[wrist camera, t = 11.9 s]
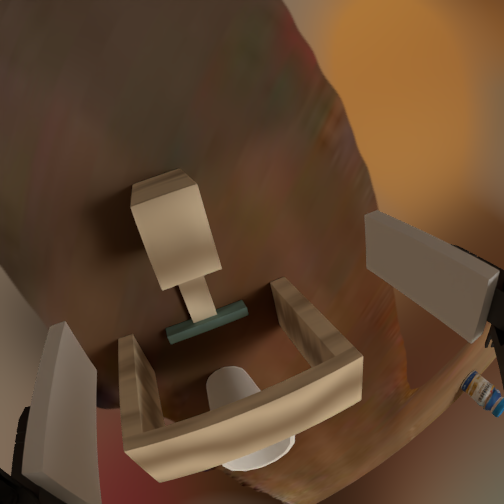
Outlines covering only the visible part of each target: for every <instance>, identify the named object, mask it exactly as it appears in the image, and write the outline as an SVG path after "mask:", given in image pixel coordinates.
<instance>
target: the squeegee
mask: <svg viewBox="0 0 504 504" xmlns="http://www.w3.org/2000/svg"><path fill="white" fill-rule="evenodd" d="M130 208H131V211H132V213H133V216H134V219H135V222H136V225H137V227H138V230H139V233H140V236H141V238H142V241H143V243H144V246H145V249H146V251H147V254H148V256H149V259H150V262H151V264H152V267H153V269H154V272H155V274H156V276H157V279H158V281H159V284H160V286H161V289H162V291H163V290H165V289H168V288H171V287H174V286H176V285H178V286H179V288H180V291H181V293H182V296H183V298H184V301H185V303H186V306H187V308H188V311H189V313H190V316H191V318H192V319H190V320H187V321H185V322H182V323H179V324H176V325H174V326H171V327H168V328H165V329H166V333H167V338H168V340H169V342H170V344H174V343H176V342H179V341H182V340H185V339H187V338H190V337H193V336H196V335H198V334H201V333H204V332H206V331H209V330H211V329H214V328H217V327H219V326H222V325H224V324H227V323H230V322H232V321H235V320H237V319H240V318H242V317H245V316H247V315H249V314H248V310H247V307H246V306H245V304H244V302H243V301H242V300H240V301H237V302H235V303H232V304H230V305H227V306H224V307H222V308H219V309H217V310H215V307H214V304H213V301H212V298H211V295H210V293H209V290H208V287H207V284H206V281H205V278H204V275H206V274H209V273H212V272H214V271H217V270H220V269H222V267H221V264H220V261H219V257H218V254H217V251H216V247H215V244H214V240H213V237H212V234H211V230H210V227H209V223H208V220H207V217H206V213H205V210H204V206H203V203H202V199H201V196H200V192H199V188H198V185H197V183H196V182H194V181H193V180H192V179H191V178H190V177H189V176H188V175H187V174H185V173H184V172H183V171H182V170H181V169H180V168H179V169H176V170H173V171H170V172H167V173H164V174H161V175H158V176H155V177H152V178H149V179H146V180H144V181H141V182H138V183H135V184H133V186H132V195H131V205H130Z"/></svg>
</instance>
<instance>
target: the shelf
mask: <svg viewBox="0 0 504 504" xmlns="http://www.w3.org/2000/svg"><path fill="white" fill-rule="evenodd" d="M270 285H271V289H272V294H273V298H274V303H275V307H276V312H277V316H278V321H279V325H280V326H281V328H282V329H283V330H284V332H285V333H286V334H287V335H288V337H289V338H290V339H291V341H292V342H293V343H294V345H295V346H296V347H297V349H298V350H299V351H300V352H301V354H302V355H303V356H304V358H305V359H306V360H307V362H308V363H309V364H310V365H311V367H312V368H311V369H309V370H307V371H304V372H302V373H300V374H298V375H296V376H294V377H292V378H289V379H287V380H285V381H283V382H281V383H278V384H276V385H274V386H272V387H269V388H267V389H265V390H262V391H260V392H257V393H255V394H253V395H250V396H248V397H245V398H243V399H240V400H238V401H235V402H233V403H230V404H228V405H225V406H222V407H220V408H217V409H214V410H211V411H209V412H206V413H203V414H200V415H197V416H195V417H192V418H189V419H186V420H183V421H180V422H177V423H173V424H170V425H167V426H165V423H164V418H163V413H162V408H161V403H160V398H159V392H158V387H157V381H156V375H155V371H154V370H153V368H152V367H151V365H150V363H149V361H148V360H147V358H146V356H145V355H144V353H143V351H142V349H141V348H140V346H139V344H138V342H137V341H136V339H135V337H134V335H133V334H131V335H128V336H125V337H122V338H119V339H118V364H119V394H120V410H121V424H122V436H123V446H124V452H125V453H126V454H127V455H128V456H129V457H130V458H132V459H133V460H134V461H135V462H136V463H137V464H138V465H139V466H140V467H142V468H143V469H144V470H145V471H146V472H147V473H149V474H150V475H151V476H152V477H153V478H155V479H156V480H157V481H158V482H159V483H160V482H164V481H168V480H172V479H176V478H179V477H183V476H186V475H190V474H193V473H197V472H200V471H203V470H206V469H209V468H212V467H215V466H218V465H221V464H224V463H227V462H230V461H233V460H235V459H238V458H241V457H243V456H246V455H249V454H251V453H254V452H256V451H259V450H261V449H264V448H266V447H268V446H271V445H273V444H275V443H278V442H280V441H282V440H285V439H287V438H289V437H291V436H293V435H296V434H298V433H300V432H302V431H304V430H306V429H308V428H310V427H312V426H314V425H316V424H318V423H320V422H322V421H324V420H326V419H328V418H330V417H332V416H334V415H335V414H337V413H339V412H341V411H343V410H345V409H346V408H348V407H350V406H352V405H353V404H355V403H357V402H359V401H360V400H361V394H362V375H363V355H362V354H361V353H360V352H359V351H358V350H357V349H356V348H355V347H354V346H353V345H352V344H351V343H350V342H349V341H348V340H347V339H346V338H345V337H344V336H343V335H342V334H341V333H340V332H339V331H338V330H337V329H336V328H335V327H334V326H333V325H332V324H331V323H330V322H329V321H328V320H327V319H326V318H325V317H324V316H323V315H322V314H321V313H320V312H319V311H318V310H317V309H316V308H315V307H314V306H313V305H312V304H311V303H310V302H309V301H308V300H307V299H306V298H305V297H304V296H303V295H302V294H301V293H300V292H299V291H298V290H297V289H296V288H295V287H294V286H293V285H292V284H291V283H290V282H289V281H288V280H287V279H286V278H285V277H282V278H280V279H277V280H275V281H272V282H270Z"/></svg>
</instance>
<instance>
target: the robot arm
mask: <svg viewBox="0 0 504 504" xmlns="http://www.w3.org/2000/svg"><path fill="white" fill-rule="evenodd" d="M365 233H366V265H367V269H369V270H370V271H371V272H373V273H374V274H376V275H377V276H379V277H380V278H382V279H383V280H384V281H386V282H387V283H389V284H390V285H392V286H393V287H395V288H396V289H397V290H399V291H400V292H402V293H403V294H404V295H406V296H407V297H409V298H410V299H411V300H413V301H414V302H416V303H417V304H418V305H420V306H421V307H423V308H424V309H425V310H427V311H428V312H429V313H431V314H432V315H434V316H435V317H436V318H438V319H439V320H440V321H442V322H443V323H444V324H446V325H447V326H448V327H450V328H451V329H453V330H454V331H455V332H457V333H458V334H459V335H460V336H462V337H463V338H464V339H466V340H467V341H468V342H470V343H471V344H472V343H473V342H474V341H475V340H476V339H477V338H478V337H479V336H480V335H482V334H483V331H484V327H485V324H486V321H488V322H489V323H491V327H490V330H489V333H488V336H487V339H486V342H485V348H487V347H488V345H489V342H490V340H491V339H492V341H493V342H492V344H491V347H494V349H495V352H496V356H497V360H498V365H499V369H500V374H501V378H502V383H503V388H504V270H503V269H501V268H499V267H497V266H495V265H493V264H492V263H490V262H488V261H486V260H484V259H482V258H480V257H477V256H476V255H475V254H473V253H469V251H467V250H465V249H463V248H461V247H459V246H455V245H452V244H448V243H446V242H444V241H442V240H440V239H438V238H436V237H434V236H432V235H430V234H428V233H426V232H424V231H422V230H419V229H417V228H415V227H413V226H411V225H409V224H407V223H404V222H402V221H400V220H398V219H395V218H393V217H391V216H389V215H387V214H384V213H382V212H380V211H378V210H377V211H374V212H371V213H369V214H366V215H365ZM96 385H97V370H96V368H95V367H94V365H93V364H92V362H91V361H90V360H89V358H88V357H87V355H86V353H85V352H84V350H83V349H82V347H81V346H80V344H79V343H78V341H77V339H76V338H75V336H74V335H73V333H72V331H71V330H70V328H69V326H68V325H67V323H66V321H64V322H61V323H58V324H56V325H53V326H50V328H49V332H48V335H47V339H46V342H45V346H44V349H43V353H42V357H41V361H40V365H39V369H38V373H37V377H36V382H35V387H34V391H33V396H32V401H31V406H29V407H25V409H24V411H23V413H22V415H21V416H20V419H19V422H18V428H17V433H18V434H17V435H16V440H15V442H16V444H15V447H14V454H13V462H12V472H11V476H10V475H8V474H7V473H6V472H4V471H3V470H2V469H1V468H0V504H102V503H101V494H100V484H99V473H98V459H97V435H96Z"/></svg>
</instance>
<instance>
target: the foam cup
mask: <svg viewBox="0 0 504 504" xmlns="http://www.w3.org/2000/svg"><path fill="white" fill-rule="evenodd" d="M206 389H207V395H208V401H209V406H210V411H211V410H214V409H217V408H220V407H222V406H225V405H228V404H230V403H233V402H235V401H238V400H240V399H243V398H245V397H248V396H250V395H253V394H255V393H257V392H260V391H261V390H260V389H259V388H258V387H257V385H256V384H255V383H254V381H253V380H252V379H251V378H250V376H249V375H248V374H247V373H246V372H245V371H244V370H243V369H242V368H240V367H236V366H229V367H223V368H221V369H219V370H217V371H215V372H214V373H213V374H212V375H211V376H209V377H208V380H207V383H206ZM294 443H295V435H293V436H291V437H289V438H287V439H285V440H282V441H280V442H278V443H275V444H273V445H271V446H268V447H266V448H264V449H261V450H259V451H256V452H254V453H251V454H249V455H246V456H243V457H241V458H238V459H235V460H233V461H230V462H227V463H224V464H222V465H223V467H226V468H228V469H230V470H232V471H248V470H252V469H257V468H261V467H263V466H266V465H268V464H270V463H272V462H275V461H276V460H278V459H279V458H280V457H282V456H283V455H285V454H286V453H287V452H288V451H289V450H290V448H291V447H292V445H293V444H294Z"/></svg>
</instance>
